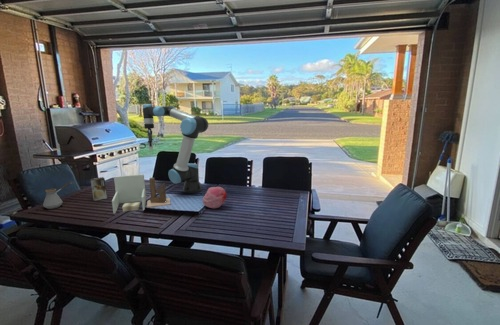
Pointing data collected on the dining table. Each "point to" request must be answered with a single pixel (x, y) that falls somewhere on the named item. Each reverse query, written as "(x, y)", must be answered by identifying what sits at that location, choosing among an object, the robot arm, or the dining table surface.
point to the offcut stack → (131, 206)
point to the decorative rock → (214, 197)
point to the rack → (129, 190)
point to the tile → (158, 203)
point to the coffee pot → (53, 198)
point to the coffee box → (98, 188)
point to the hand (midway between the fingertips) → (151, 149)
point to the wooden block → (153, 192)
